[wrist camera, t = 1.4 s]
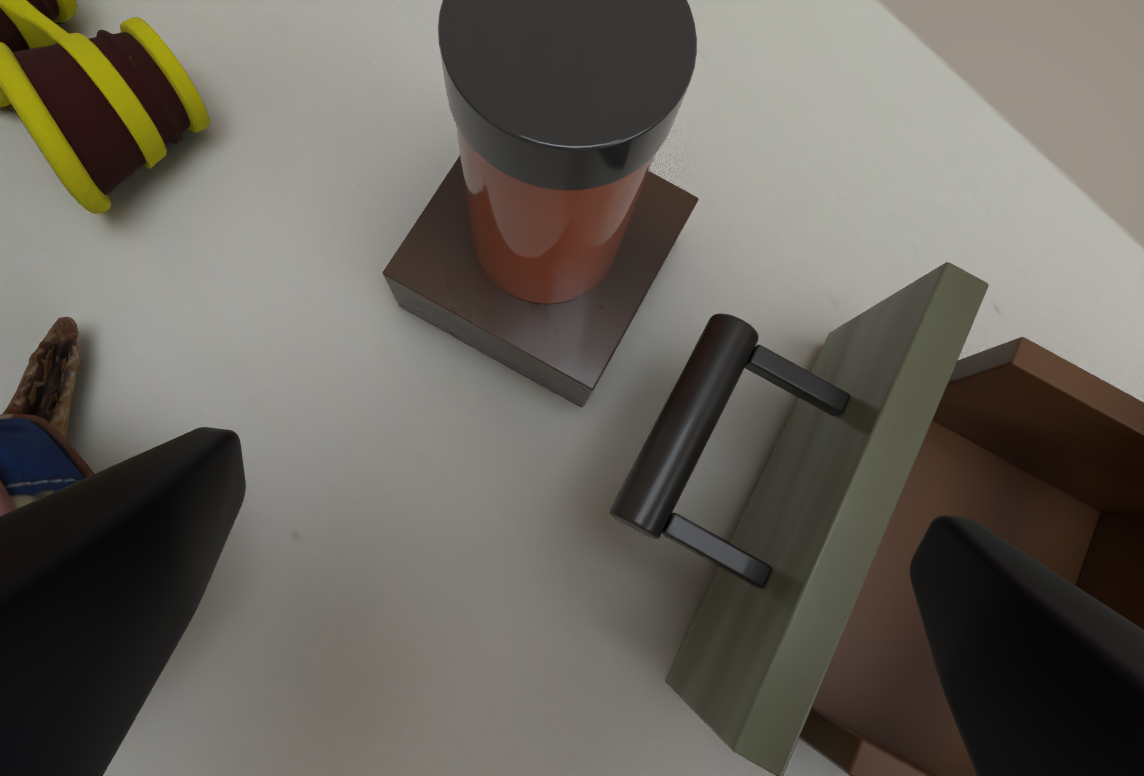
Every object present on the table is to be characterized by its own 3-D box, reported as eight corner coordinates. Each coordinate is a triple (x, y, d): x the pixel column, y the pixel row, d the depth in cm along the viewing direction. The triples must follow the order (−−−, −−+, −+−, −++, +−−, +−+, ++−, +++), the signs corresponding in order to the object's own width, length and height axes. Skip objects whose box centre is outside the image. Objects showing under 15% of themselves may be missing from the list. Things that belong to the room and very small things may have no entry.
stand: (582, 408, 22) (592, 390, 19) (398, 305, 22) (381, 273, 19) (676, 238, 24) (699, 197, 21) (503, 143, 24) (502, 90, 21)
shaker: (576, 335, 20) (624, 196, 11) (439, 259, 20) (386, 66, 11) (648, 210, 21) (739, -3, 12) (516, 138, 21) (521, -121, 12)
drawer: (539, 611, 20) (552, 649, 14) (719, 271, 23) (796, 177, 17) (978, 858, 20) (1189, 1009, 14) (1107, 484, 22) (1332, 469, 16)
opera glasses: (241, 152, 24) (197, 35, 19) (117, 248, 22) (35, 142, 17) (32, -3, 24) (-58, -153, 20) (-109, 75, 22) (-247, -73, 18)
